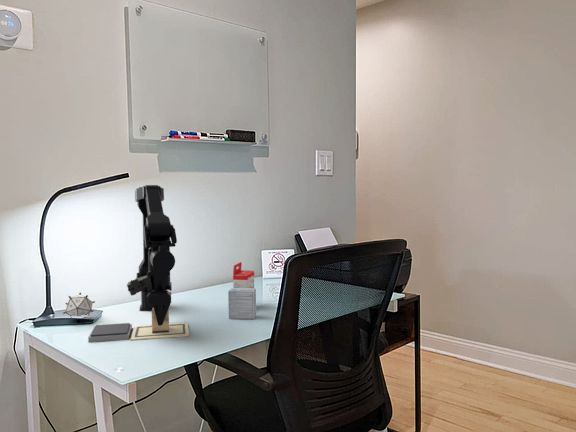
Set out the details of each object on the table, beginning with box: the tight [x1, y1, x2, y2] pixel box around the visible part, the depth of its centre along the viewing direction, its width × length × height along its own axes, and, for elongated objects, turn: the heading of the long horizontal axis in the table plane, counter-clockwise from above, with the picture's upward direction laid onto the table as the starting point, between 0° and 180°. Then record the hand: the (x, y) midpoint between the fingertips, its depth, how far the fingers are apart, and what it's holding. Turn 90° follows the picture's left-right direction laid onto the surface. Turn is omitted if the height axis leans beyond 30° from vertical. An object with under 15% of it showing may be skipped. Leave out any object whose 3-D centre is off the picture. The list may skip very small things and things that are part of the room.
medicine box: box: [227, 287, 257, 320], centre depth 150 cm, size 8×4×9 cm, turn 84°
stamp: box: [151, 308, 170, 333], centre depth 136 cm, size 4×4×6 cm
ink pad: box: [87, 322, 133, 343], centre depth 133 cm, size 10×10×2 cm
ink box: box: [232, 261, 255, 288], centre depth 161 cm, size 8×5×15 cm, turn 168°
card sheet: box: [129, 322, 190, 341], centre depth 136 cm, size 12×15×1 cm
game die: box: [62, 292, 96, 317], centre depth 147 cm, size 9×8×10 cm
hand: (160, 322), depth 136 cm, fingers open, 6 cm apart
